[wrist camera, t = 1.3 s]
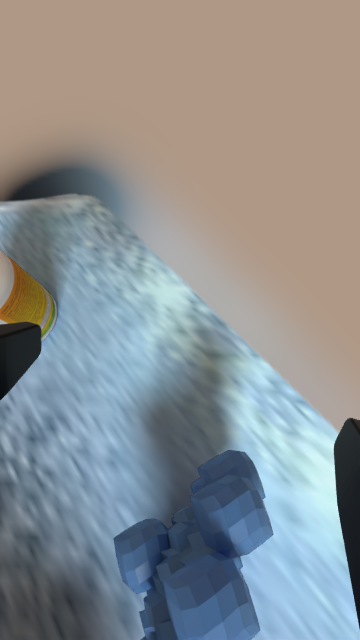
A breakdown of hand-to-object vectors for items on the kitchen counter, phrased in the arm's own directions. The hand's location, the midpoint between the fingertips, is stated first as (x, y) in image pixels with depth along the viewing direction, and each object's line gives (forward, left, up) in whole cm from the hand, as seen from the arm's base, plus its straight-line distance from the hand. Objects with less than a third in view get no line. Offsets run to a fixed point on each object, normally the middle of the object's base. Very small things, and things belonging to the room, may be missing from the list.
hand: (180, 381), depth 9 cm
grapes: (-7, -4, -14) cm, 16 cm away
